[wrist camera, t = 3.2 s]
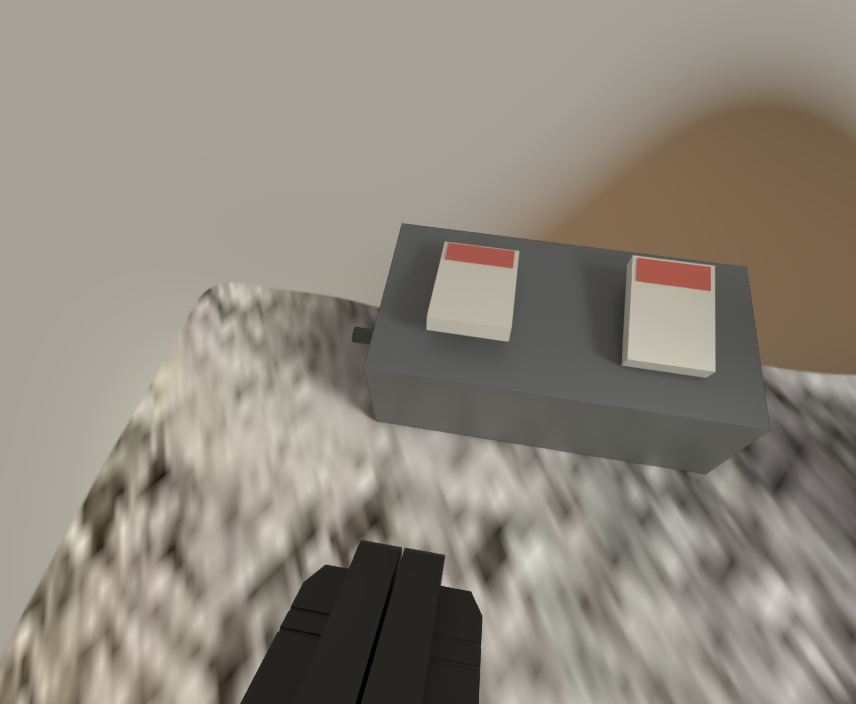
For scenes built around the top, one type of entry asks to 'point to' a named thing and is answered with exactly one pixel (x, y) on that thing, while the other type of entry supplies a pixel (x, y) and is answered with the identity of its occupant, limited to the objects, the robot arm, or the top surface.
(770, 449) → the top surface
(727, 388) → the switch box
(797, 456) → the top surface
